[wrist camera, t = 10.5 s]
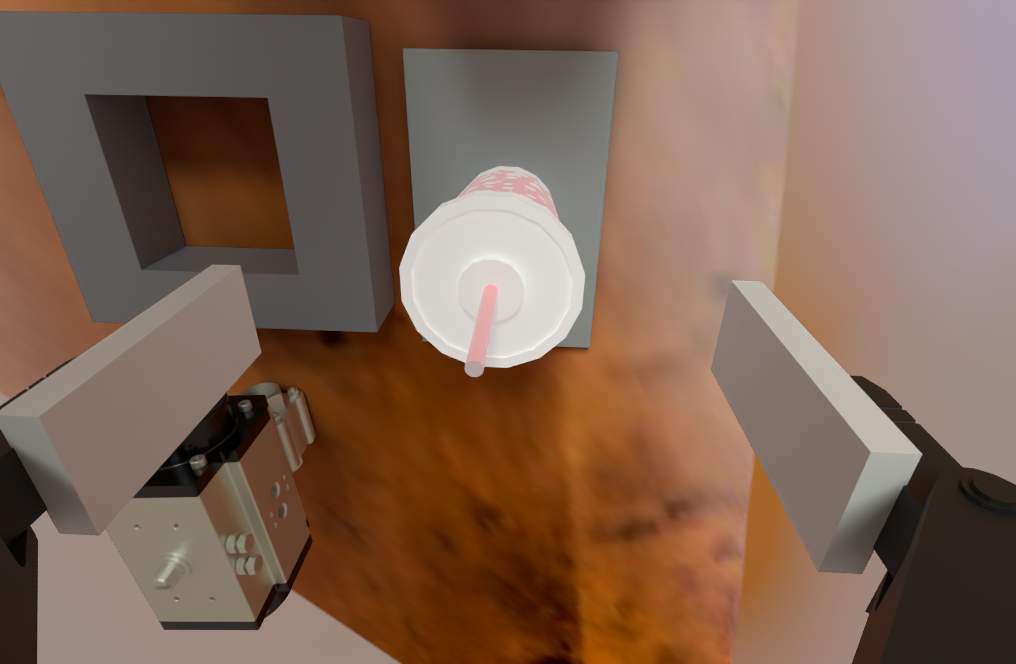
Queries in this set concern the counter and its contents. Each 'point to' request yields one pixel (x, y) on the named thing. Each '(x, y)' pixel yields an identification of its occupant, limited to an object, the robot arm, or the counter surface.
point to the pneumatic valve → (223, 515)
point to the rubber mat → (516, 135)
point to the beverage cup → (493, 273)
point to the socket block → (141, 174)
